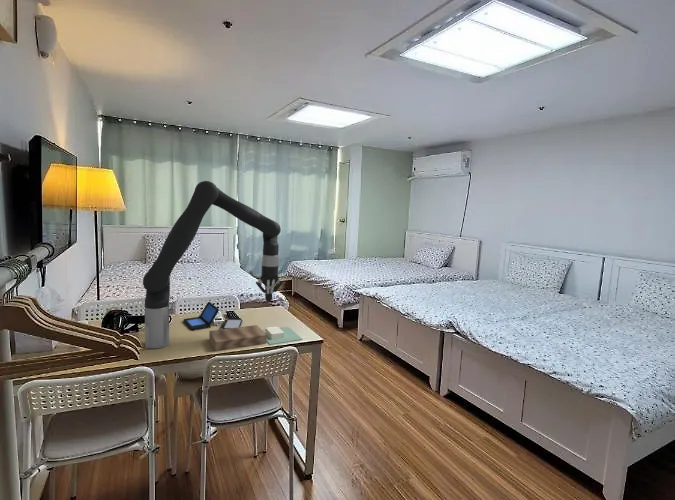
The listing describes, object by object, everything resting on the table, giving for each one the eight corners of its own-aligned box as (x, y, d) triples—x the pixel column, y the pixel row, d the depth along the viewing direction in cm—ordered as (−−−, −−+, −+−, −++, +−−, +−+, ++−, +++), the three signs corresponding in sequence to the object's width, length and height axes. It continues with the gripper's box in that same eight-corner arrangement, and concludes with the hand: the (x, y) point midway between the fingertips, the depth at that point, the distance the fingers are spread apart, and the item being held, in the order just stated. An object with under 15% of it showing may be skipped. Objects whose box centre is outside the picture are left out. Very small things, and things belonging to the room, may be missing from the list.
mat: (269, 344, 164) (269, 344, 164) (257, 331, 179) (257, 330, 179) (302, 339, 172) (302, 338, 172) (288, 327, 187) (288, 326, 187)
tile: (284, 332, 171) (283, 337, 172) (277, 326, 179) (277, 331, 179) (271, 334, 168) (271, 339, 169) (265, 327, 176) (265, 333, 176)
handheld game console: (182, 321, 187) (182, 304, 186) (208, 317, 195) (209, 301, 194) (191, 331, 175) (191, 312, 174) (219, 326, 183) (219, 308, 182)
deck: (215, 351, 154) (216, 342, 153) (209, 339, 166) (209, 330, 165) (266, 343, 165) (266, 335, 164) (256, 332, 177) (256, 324, 176)
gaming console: (226, 321, 192) (226, 316, 192) (243, 321, 193) (243, 316, 193) (219, 334, 173) (219, 329, 173) (238, 334, 174) (238, 329, 174)
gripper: (258, 266, 161) (257, 304, 164) (286, 265, 168) (284, 302, 170) (253, 263, 168) (252, 300, 170) (280, 262, 174) (279, 297, 177)
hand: (268, 301), depth 170 cm, fingers closed
